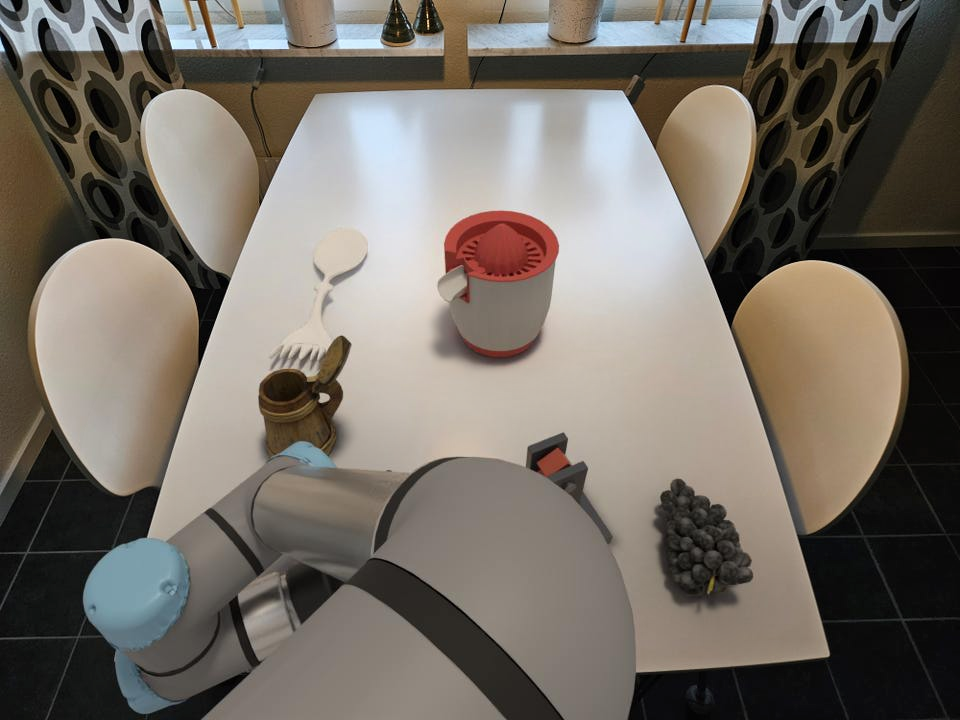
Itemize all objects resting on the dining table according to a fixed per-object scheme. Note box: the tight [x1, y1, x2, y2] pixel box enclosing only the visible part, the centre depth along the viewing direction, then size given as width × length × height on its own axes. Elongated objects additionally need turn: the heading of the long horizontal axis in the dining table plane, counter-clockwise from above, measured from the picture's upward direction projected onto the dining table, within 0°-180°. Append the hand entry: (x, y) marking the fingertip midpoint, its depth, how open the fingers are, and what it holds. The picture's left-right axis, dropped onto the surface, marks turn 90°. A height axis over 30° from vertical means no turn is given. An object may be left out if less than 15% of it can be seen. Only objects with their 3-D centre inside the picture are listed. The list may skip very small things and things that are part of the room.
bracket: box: [525, 431, 614, 544], centre depth 72 cm, size 12×10×15 cm
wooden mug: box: [257, 334, 353, 459], centre depth 79 cm, size 9×14×18 cm, turn 97°
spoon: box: [268, 227, 369, 362], centre depth 104 cm, size 9×32×4 cm, turn 175°
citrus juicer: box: [436, 210, 560, 358], centre depth 92 cm, size 16×17×20 cm
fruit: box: [659, 478, 754, 597], centre depth 73 cm, size 9×8×15 cm
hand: (488, 521), depth 70 cm, fingers open, 13 cm apart
